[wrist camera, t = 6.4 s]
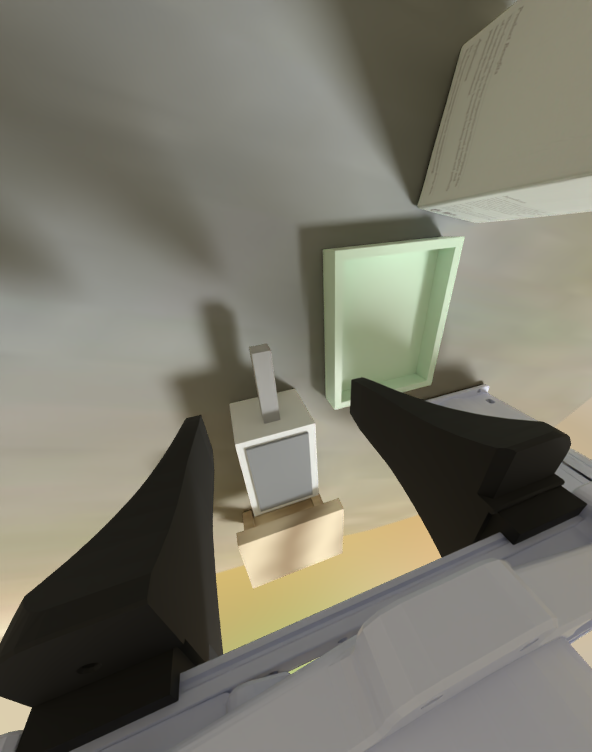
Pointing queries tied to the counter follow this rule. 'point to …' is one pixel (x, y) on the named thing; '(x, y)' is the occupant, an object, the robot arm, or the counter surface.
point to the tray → (386, 312)
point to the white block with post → (274, 441)
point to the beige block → (290, 538)
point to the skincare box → (518, 119)
